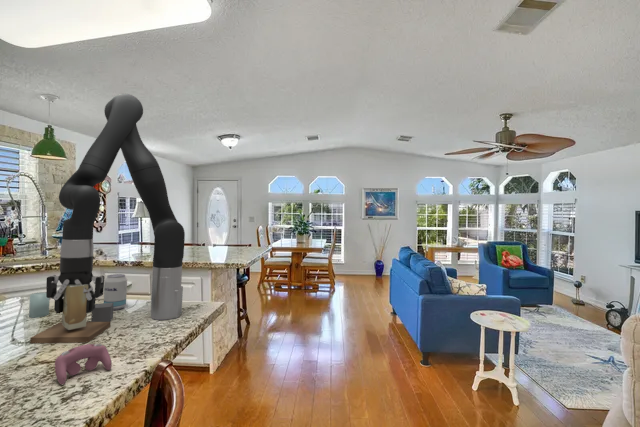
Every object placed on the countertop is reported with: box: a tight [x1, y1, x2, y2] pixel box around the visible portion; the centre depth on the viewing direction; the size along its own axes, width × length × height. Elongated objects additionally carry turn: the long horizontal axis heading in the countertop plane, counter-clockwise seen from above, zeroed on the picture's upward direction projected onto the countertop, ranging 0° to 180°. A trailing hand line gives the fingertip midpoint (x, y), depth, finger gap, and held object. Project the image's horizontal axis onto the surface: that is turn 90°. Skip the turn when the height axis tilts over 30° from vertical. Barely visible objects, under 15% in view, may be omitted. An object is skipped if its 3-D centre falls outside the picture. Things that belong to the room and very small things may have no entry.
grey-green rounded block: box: [28, 291, 51, 319], centre depth 106 cm, size 5×5×7 cm
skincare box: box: [61, 284, 88, 330], centre depth 91 cm, size 6×4×12 cm
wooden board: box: [29, 321, 112, 344], centre depth 91 cm, size 14×12×2 cm
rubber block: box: [91, 302, 114, 322], centre depth 103 cm, size 5×5×5 cm
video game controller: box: [54, 343, 113, 386], centre depth 71 cm, size 10×5×7 cm, turn 141°
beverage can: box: [103, 273, 128, 311], centre depth 116 cm, size 7×7×12 cm
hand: (74, 312), depth 91 cm, fingers closed on skincare box, 7 cm apart
